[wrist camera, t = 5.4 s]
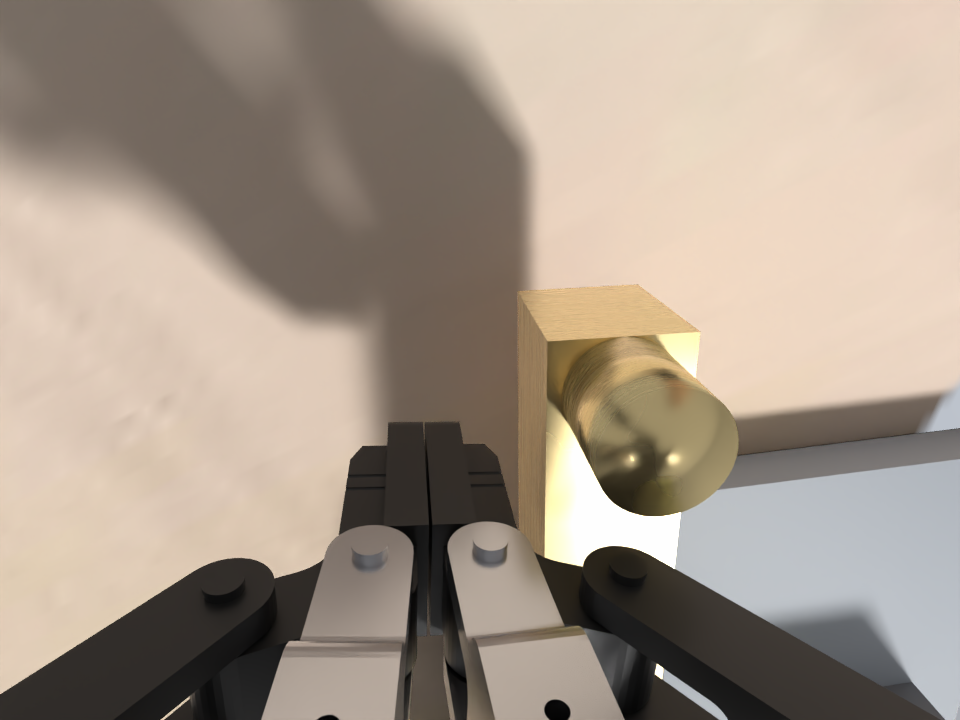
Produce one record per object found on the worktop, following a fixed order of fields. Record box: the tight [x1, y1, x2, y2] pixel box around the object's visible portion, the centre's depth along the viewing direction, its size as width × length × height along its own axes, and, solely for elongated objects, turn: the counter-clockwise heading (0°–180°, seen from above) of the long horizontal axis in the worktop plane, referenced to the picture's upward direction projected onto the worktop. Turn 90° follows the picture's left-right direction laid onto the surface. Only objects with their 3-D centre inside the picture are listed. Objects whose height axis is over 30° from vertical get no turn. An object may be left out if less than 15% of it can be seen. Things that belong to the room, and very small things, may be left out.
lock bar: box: [518, 285, 739, 679], centre depth 13 cm, size 15×3×5 cm, turn 2°
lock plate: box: [662, 428, 960, 720], centre depth 18 cm, size 17×14×6 cm
